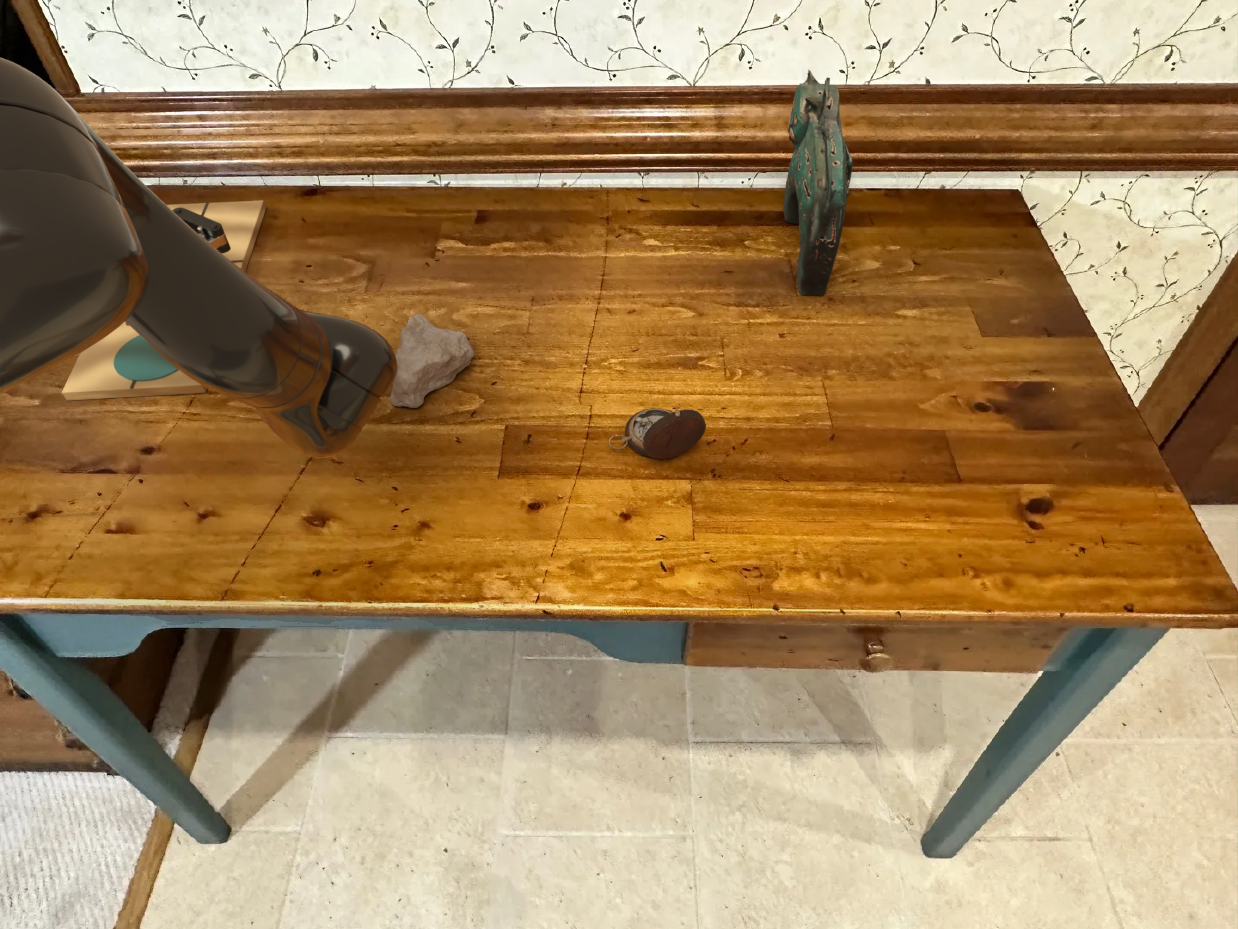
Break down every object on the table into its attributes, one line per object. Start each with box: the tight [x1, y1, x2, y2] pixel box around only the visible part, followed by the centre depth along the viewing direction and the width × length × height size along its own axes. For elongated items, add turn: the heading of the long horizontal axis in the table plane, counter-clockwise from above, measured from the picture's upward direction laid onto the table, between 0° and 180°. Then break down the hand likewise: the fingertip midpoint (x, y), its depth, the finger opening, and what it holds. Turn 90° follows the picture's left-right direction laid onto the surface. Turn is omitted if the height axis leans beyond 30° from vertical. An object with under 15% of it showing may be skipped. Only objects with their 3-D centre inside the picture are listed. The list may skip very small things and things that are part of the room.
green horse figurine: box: [782, 69, 854, 297], centre depth 99 cm, size 20×6×20 cm, turn 178°
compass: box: [608, 406, 707, 460], centre depth 83 cm, size 8×8×7 cm
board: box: [61, 200, 267, 402], centre depth 101 cm, size 34×14×1 cm, turn 4°
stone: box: [389, 313, 475, 409], centre depth 90 cm, size 10×8×6 cm
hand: (97, 231), depth 80 cm, fingers closed on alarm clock, 6 cm apart
